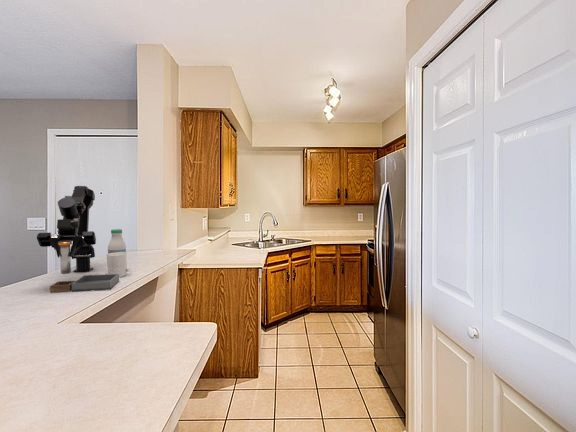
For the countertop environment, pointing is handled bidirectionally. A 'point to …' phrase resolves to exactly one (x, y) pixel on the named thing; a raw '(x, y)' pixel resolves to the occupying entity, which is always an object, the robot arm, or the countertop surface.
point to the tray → (95, 282)
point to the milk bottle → (116, 242)
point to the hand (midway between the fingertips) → (64, 256)
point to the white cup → (116, 263)
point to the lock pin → (65, 256)
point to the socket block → (61, 286)
